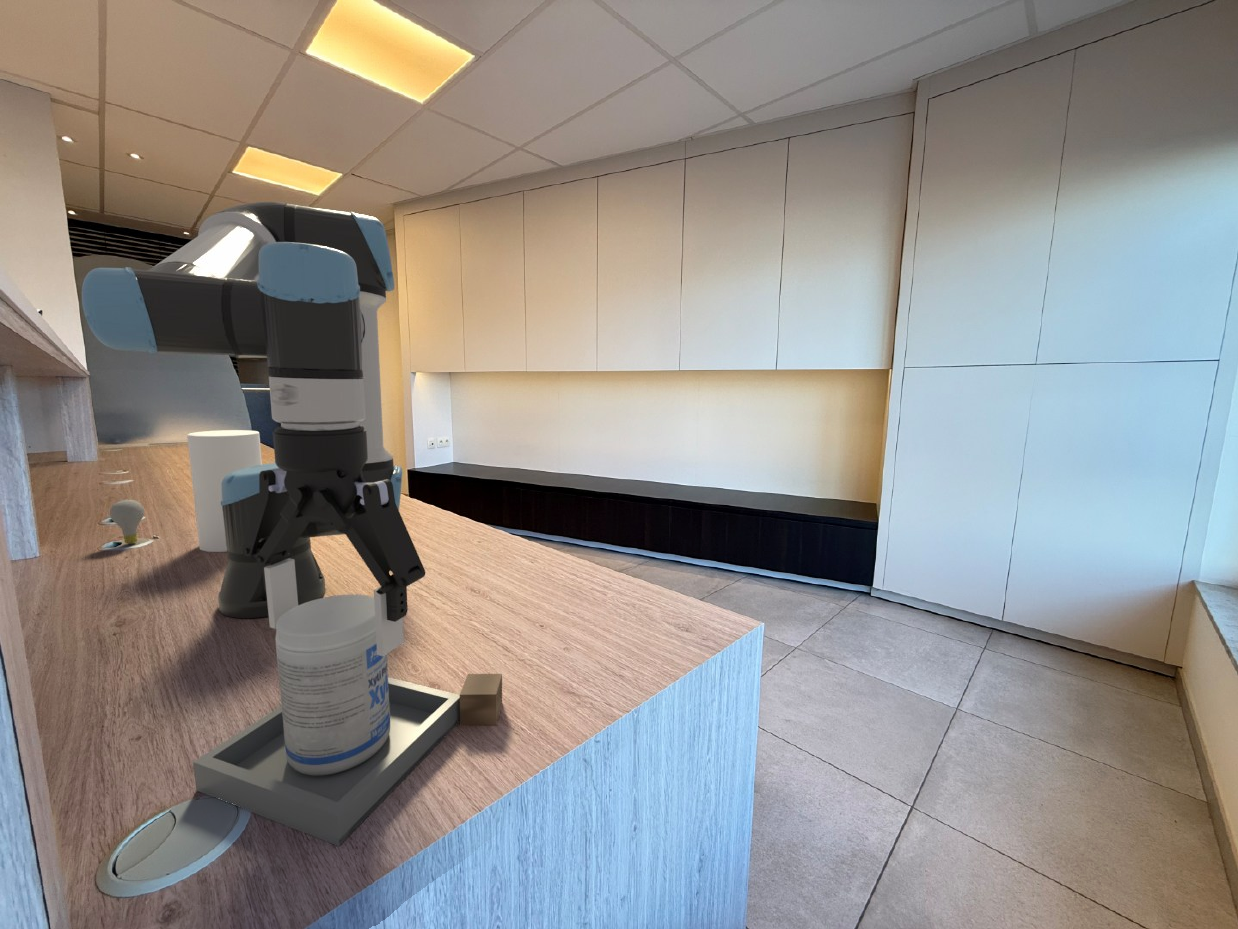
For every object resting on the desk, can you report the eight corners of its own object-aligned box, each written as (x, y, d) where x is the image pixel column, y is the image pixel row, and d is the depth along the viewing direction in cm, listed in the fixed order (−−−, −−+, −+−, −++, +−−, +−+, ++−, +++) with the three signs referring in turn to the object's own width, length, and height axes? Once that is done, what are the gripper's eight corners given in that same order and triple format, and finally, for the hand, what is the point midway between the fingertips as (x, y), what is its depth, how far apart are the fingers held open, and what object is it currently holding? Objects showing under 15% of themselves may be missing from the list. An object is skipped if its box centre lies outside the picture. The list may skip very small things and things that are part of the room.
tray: (196, 790, 47) (192, 762, 47) (345, 688, 63) (344, 666, 63) (339, 846, 42) (337, 815, 42) (462, 719, 58) (461, 695, 58)
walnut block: (460, 727, 57) (459, 694, 56) (468, 704, 61) (467, 674, 60) (496, 726, 57) (496, 694, 57) (502, 704, 61) (502, 673, 60)
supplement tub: (398, 756, 51) (392, 620, 49) (286, 797, 46) (273, 646, 44) (382, 705, 59) (376, 585, 57) (285, 734, 54) (274, 604, 52)
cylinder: (256, 550, 110) (245, 436, 106) (187, 553, 107) (174, 436, 103) (276, 533, 122) (267, 430, 118) (215, 536, 119) (204, 429, 115)
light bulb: (131, 548, 109) (125, 503, 108) (106, 547, 109) (100, 502, 108) (155, 540, 115) (149, 497, 113) (131, 539, 115) (125, 496, 113)
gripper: (182, 418, 47) (208, 628, 51) (402, 439, 40) (412, 683, 44) (260, 413, 54) (278, 598, 58) (460, 430, 47) (464, 641, 51)
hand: (335, 635), depth 51 cm, fingers open, 13 cm apart
